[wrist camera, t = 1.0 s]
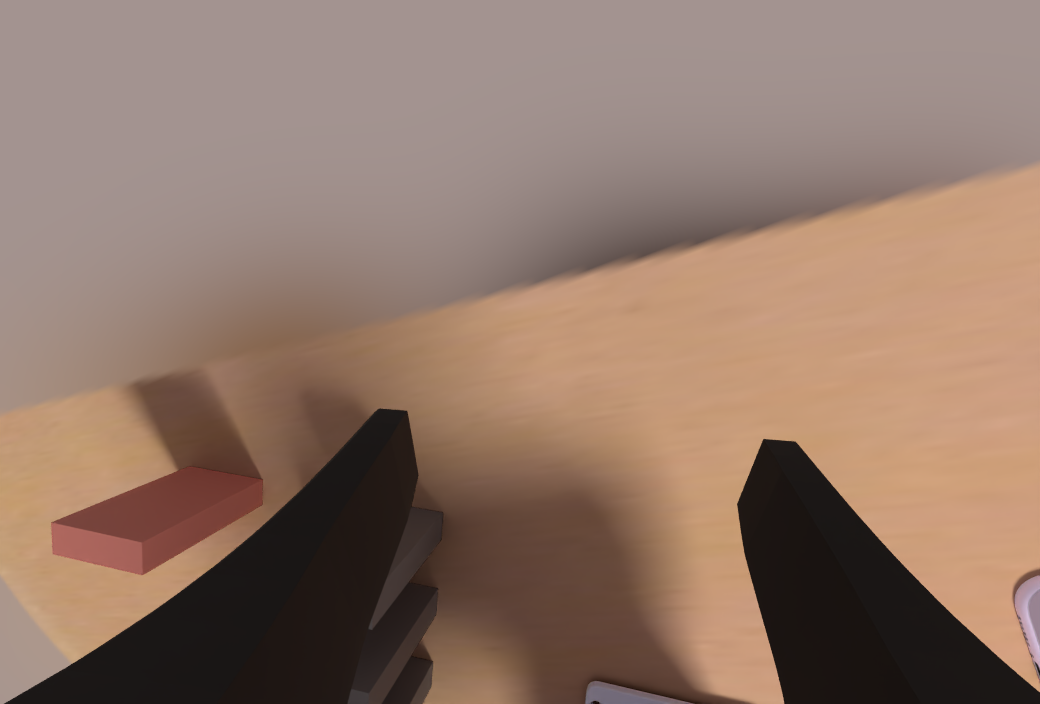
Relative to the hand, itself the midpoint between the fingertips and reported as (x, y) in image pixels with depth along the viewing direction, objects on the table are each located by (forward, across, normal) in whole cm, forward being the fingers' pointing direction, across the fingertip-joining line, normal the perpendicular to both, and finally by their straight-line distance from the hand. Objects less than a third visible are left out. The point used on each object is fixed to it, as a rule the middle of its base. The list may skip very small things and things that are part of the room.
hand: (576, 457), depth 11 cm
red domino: (+9, +18, +14) cm, 25 cm away
